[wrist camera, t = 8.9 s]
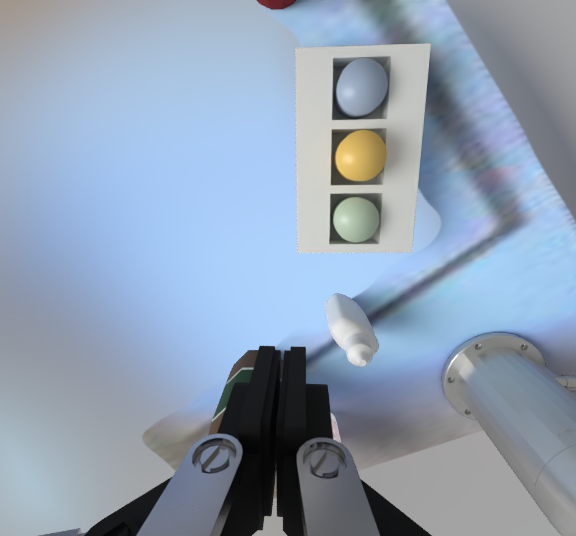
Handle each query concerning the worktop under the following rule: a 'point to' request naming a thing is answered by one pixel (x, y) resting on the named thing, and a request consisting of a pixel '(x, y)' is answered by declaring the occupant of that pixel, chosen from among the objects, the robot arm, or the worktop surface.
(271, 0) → the plastic cup
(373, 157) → the button amber
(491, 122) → the worktop surface
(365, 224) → the button sage
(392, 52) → the white slotted frame
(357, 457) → the worktop surface
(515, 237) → the worktop surface
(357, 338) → the eye dropper bottle
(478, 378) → the robot arm
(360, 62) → the button slate
